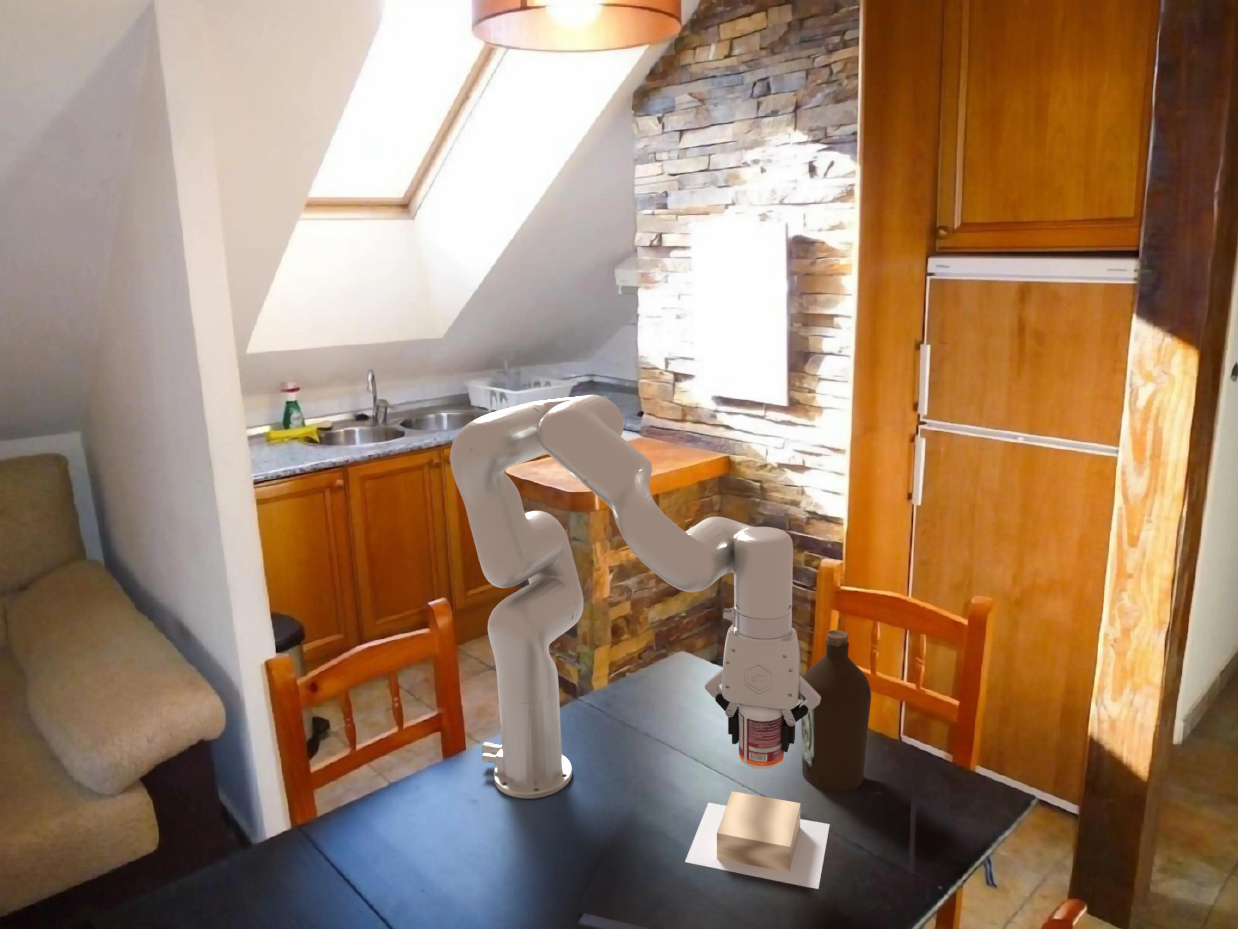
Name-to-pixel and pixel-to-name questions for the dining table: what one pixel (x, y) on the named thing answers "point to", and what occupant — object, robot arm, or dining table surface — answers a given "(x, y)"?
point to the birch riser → (759, 831)
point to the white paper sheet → (801, 873)
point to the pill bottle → (760, 736)
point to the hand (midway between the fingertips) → (761, 741)
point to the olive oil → (836, 720)
